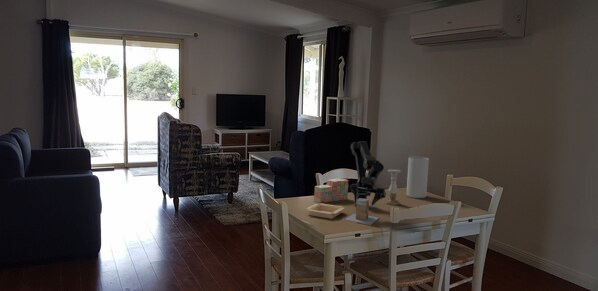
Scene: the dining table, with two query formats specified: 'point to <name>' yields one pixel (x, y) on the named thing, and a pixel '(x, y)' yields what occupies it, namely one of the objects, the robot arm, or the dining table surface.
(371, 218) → the rubber mat
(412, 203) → the dining table surface
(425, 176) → the cylinder vase
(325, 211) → the carton
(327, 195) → the stack of blocks
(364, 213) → the grey rectangular block
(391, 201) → the candle holder
